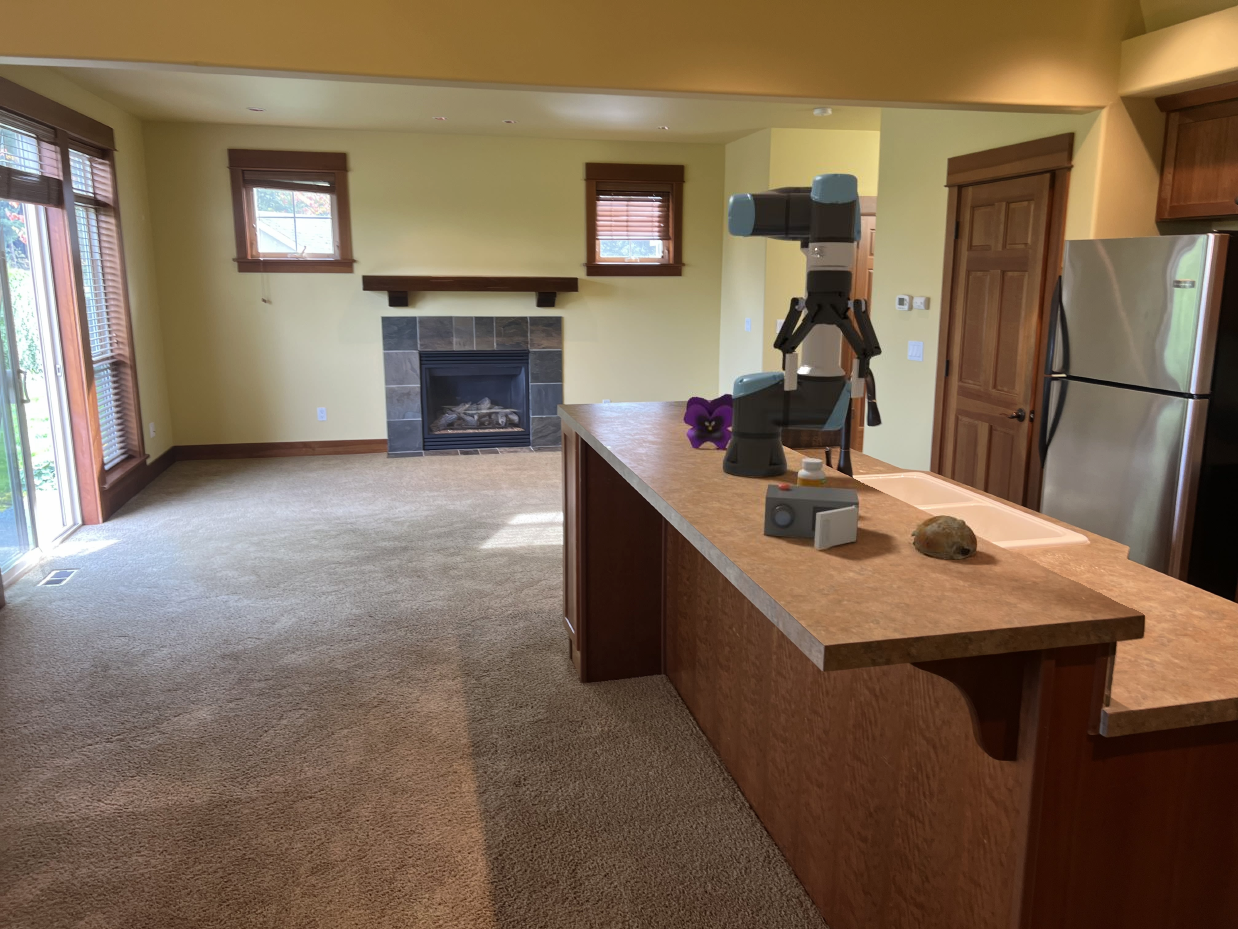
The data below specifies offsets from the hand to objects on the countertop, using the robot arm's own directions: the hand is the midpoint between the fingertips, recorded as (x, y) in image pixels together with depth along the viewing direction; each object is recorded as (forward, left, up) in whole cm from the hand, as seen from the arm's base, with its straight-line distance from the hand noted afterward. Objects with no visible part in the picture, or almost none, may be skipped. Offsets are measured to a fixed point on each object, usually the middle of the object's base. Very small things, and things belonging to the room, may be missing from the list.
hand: (822, 393), depth 156 cm
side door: (+8, +4, -25) cm, 27 cm away
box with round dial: (-1, -1, -25) cm, 25 cm away
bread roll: (+6, +21, -26) cm, 34 cm away
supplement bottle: (-18, -1, -26) cm, 31 cm away
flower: (-81, -28, -26) cm, 90 cm away
